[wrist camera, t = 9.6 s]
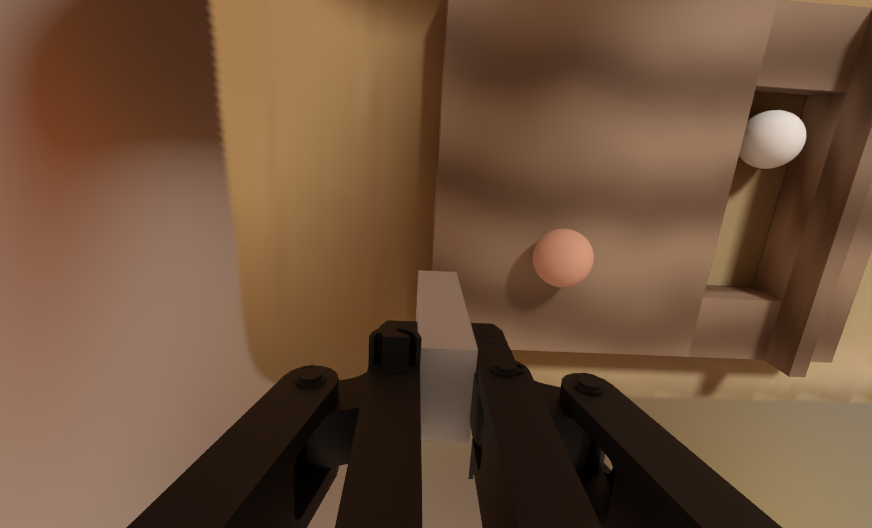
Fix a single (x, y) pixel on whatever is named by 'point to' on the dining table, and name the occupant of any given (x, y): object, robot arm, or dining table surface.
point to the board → (652, 171)
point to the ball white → (772, 139)
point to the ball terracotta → (563, 257)
